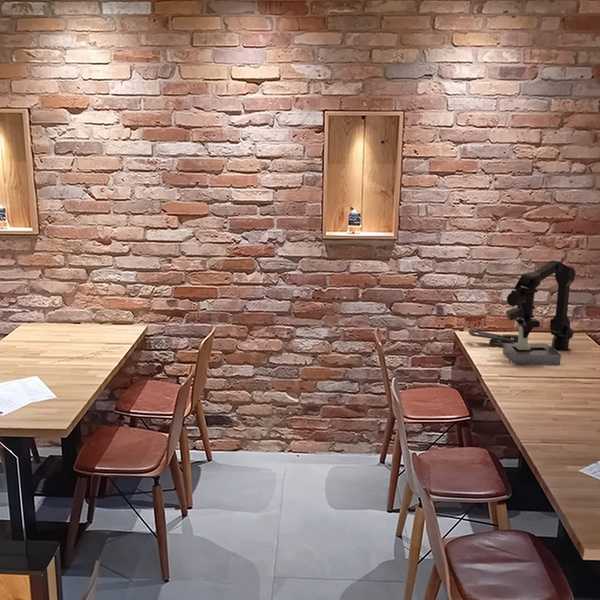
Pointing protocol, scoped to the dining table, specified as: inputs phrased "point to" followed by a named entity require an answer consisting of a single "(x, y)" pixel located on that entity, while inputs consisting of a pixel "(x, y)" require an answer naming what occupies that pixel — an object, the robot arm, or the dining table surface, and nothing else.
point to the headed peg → (522, 341)
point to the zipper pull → (496, 338)
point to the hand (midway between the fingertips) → (523, 336)
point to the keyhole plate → (532, 354)
